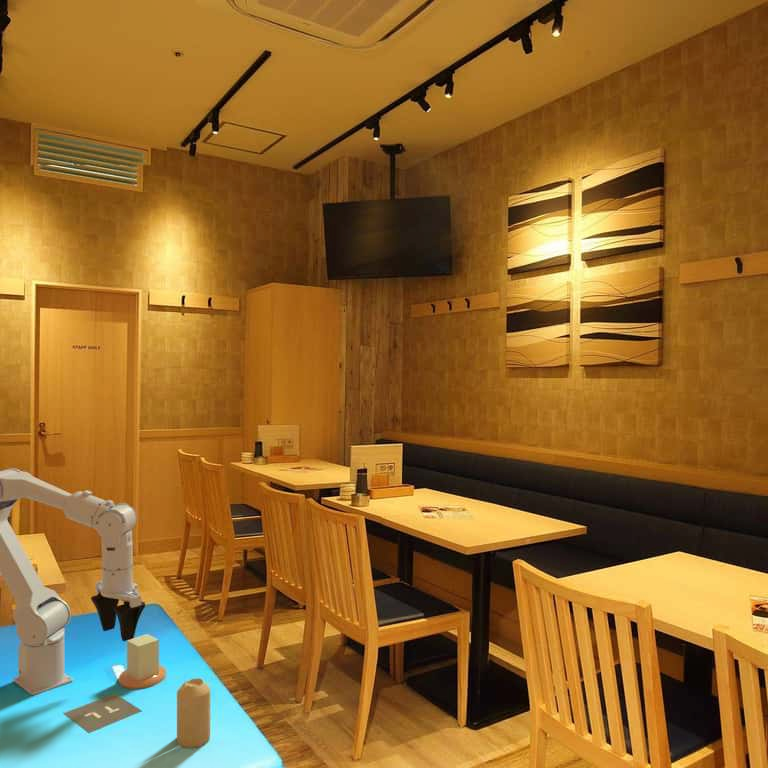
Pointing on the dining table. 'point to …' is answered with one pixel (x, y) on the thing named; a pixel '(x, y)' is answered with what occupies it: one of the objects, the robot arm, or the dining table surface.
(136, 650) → the block
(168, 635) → the dining table surface
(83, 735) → the dining table surface
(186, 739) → the candle
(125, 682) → the orange disc
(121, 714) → the brown tile
